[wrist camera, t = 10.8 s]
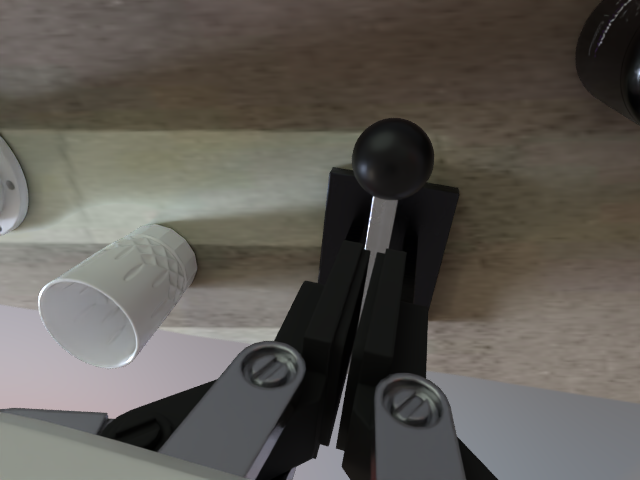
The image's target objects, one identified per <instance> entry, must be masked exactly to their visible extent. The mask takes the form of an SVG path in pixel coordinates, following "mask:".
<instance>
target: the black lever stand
mask: <svg viewBox="0 0 640 480" xmlns="http://www.w3.org/2000/svg"><path fill="white" fill-rule="evenodd" d="M458 198H459V189H458V188H455V187H449V186H443V185H437V184H431V183H426V184H425V185H424V186H423V187H422V188H421V189H420V190H419V191H418V192H416V193H415V194H413V195H412V196H410V197H407V198H405V199H401V200H398V204H397V209H396V214H395V219H394V224H393V230H392V235H391V240H390V245H389V249H393V250H398V251H403V252H407V254H406V262H405V269H404V277H403V285H402V293H401V300H400V301H403V302H408V303H413V304H417V305H422V306H427V307H428V310H429V307H430V303H431V299H432V295H433V292H434V288H435V284H436V280H437V277H438V273H439V269H440V265H441V262H442V258H443V254H444V250H445V246H446V243H447V239H448V235H449V231H450V228H451V224H452V220H453V216H454V213H455V209H456V205H457V201H458ZM372 199H373V196H372V195H371V194H369V193H368V192H367V191H365V190H364V189H363V188H362V187H361V185H360V184H359V183H358V181H357V179H356V177H355V174H354V172H353V171H352V170H346V169H340V168H334V167H333V168H332V170H331V171H330V173H329V183H328V192H327V201H326V211H325V220H324V230H323V239H322V249H321V258H320V267H319V277H318V283H319V284H324V285H325V284H326V281H327V279H328V276H329V274H330V271H331V269H332V267H333V264H334V262H335V259H336V257H337V254H338V252H339V250H340V247H341V245H342V242H343V240H347V241H352V242H357V243H362V244H364V248H363V249H365V244H366V237H367V231H368V224H369V218H370V212H371V205H372Z"/></svg>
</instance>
